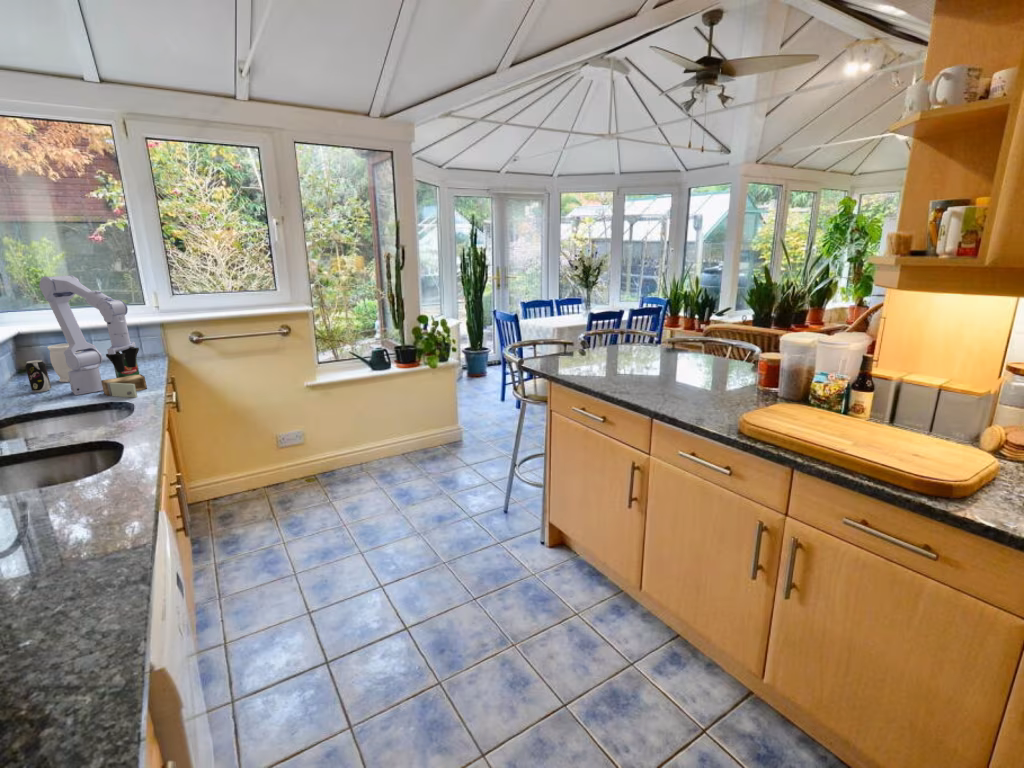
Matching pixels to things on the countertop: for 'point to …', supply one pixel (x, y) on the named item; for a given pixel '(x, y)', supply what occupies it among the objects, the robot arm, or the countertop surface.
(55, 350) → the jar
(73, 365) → the robot arm
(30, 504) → the countertop surface
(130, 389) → the door
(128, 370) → the canned tomato
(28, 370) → the beverage can
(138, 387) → the cabinet
